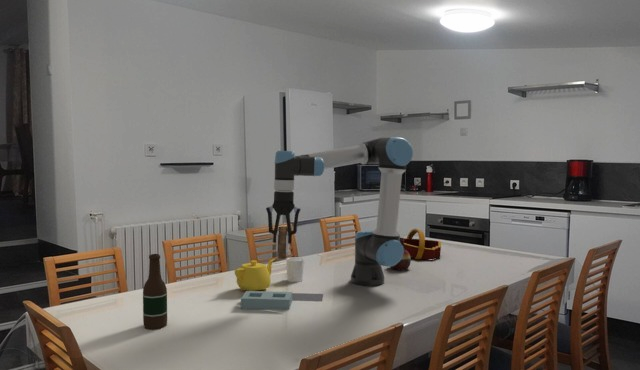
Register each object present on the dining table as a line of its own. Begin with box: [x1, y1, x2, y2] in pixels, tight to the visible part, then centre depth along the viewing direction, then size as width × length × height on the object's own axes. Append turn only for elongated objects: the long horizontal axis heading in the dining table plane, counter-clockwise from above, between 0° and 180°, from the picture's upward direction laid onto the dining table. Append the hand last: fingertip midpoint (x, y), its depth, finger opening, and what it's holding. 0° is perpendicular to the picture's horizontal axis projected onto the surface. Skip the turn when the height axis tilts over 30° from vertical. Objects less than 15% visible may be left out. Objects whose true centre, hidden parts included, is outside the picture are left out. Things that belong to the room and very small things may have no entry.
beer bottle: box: [142, 253, 168, 331], centre depth 168 cm, size 8×8×24 cm
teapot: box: [234, 258, 276, 292], centre depth 213 cm, size 13×20×12 cm
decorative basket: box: [403, 228, 442, 260], centre depth 289 cm, size 34×29×15 cm
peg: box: [277, 226, 288, 260], centre depth 196 cm, size 3×3×12 cm
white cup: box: [285, 256, 305, 283], centre depth 228 cm, size 8×8×10 cm
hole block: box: [240, 290, 293, 311], centre depth 192 cm, size 18×10×4 cm, turn 87°
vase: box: [390, 237, 412, 271], centre depth 254 cm, size 11×11×15 cm
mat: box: [292, 292, 324, 302], centre depth 202 cm, size 14×10×1 cm
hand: (282, 251), depth 196 cm, fingers closed on peg, 3 cm apart
